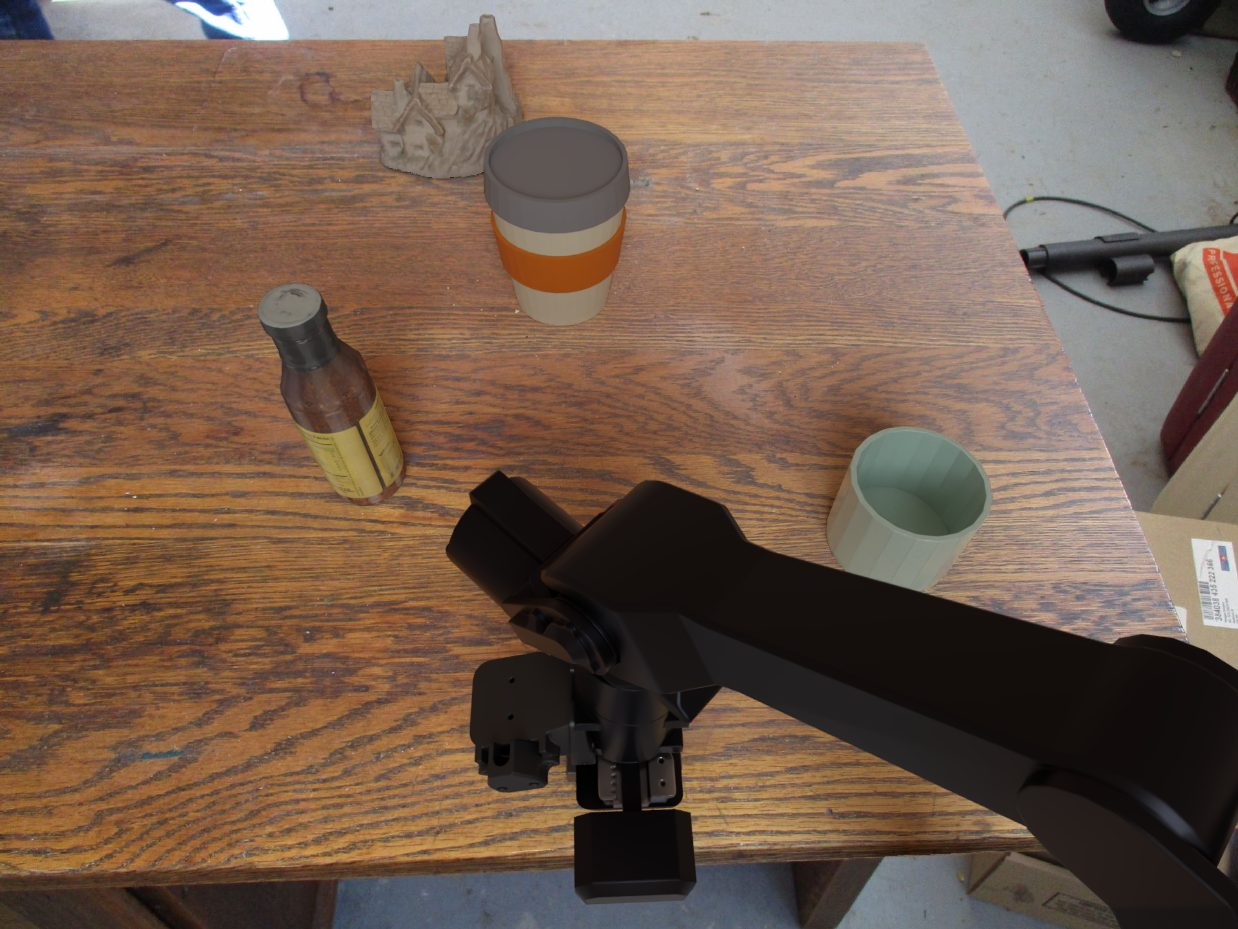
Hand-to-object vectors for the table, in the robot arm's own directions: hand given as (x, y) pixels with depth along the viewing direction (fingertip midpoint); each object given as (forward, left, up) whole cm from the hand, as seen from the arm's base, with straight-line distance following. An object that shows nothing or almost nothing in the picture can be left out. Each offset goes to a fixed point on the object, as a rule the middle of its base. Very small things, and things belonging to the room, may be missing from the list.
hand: (623, 760), depth 54 cm
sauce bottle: (+30, +7, -1) cm, 31 cm away
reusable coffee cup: (+42, -17, -1) cm, 45 cm away
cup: (+5, -27, -1) cm, 27 cm away
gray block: (0, 0, -1) cm, 1 cm away
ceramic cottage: (+71, -18, -1) cm, 73 cm away
